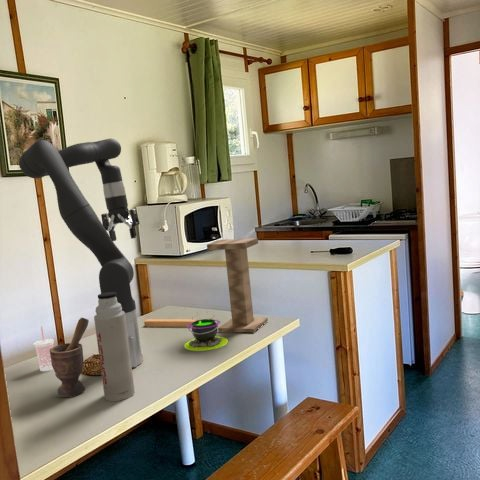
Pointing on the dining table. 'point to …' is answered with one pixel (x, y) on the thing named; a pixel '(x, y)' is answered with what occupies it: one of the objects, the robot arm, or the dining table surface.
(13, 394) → the dining table surface
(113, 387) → the thermos bottle
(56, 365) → the mortar and pestle
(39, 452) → the dining table surface
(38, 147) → the robot arm
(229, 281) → the shelf stand
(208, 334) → the toy cauldron
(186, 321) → the handle bar
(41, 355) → the beverage cup
